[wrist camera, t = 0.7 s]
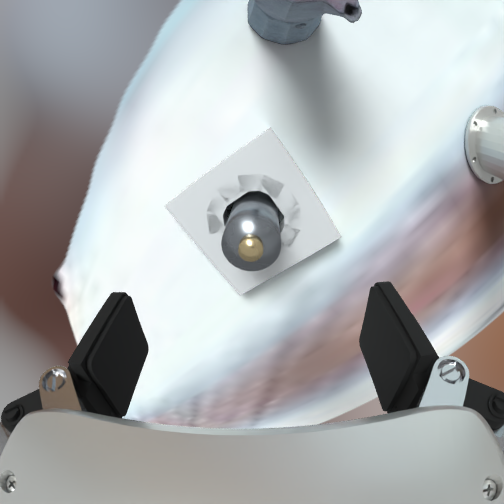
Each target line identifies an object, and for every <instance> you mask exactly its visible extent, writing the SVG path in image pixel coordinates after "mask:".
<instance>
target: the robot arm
mask: <svg viewBox="0 0 504 504" xmlns="http://www.w3.org/2000/svg"><path fill="white" fill-rule="evenodd" d="M465 150H466V156H467V159H468V163H469V165H470V167H471V169H472V171H473V172H474V174H475V175H476V176H477V177H478V178H479V179H481V180H482V181H484V182H486V183H489V184H497V183H499V182H501V181H503V180H504V112H502V111H501V110H500V109H498V108H497V107H494V106H486V105H485V106H481V107H479V108H478V109H476V110H475V111H474V112H473V113H472V115H471V117H470V118H469V121H468V124H467V127H466V132H465ZM359 342H360V347H361V350H362V353H363V355H364V358H365V361H366V363H367V366H368V369H369V372H370V374H371V377H372V380H373V383H374V386H375V389H376V392H377V395H378V397H379V400H380V403H381V406H382V409H383V411H387V413H388V414H383V415H378V416H373V417H367V418H361V419H355V420H349V421H343V422H335V423H328V424H319V425H310V426H298V427H284V428H263V429H220V428H199V427H185V426H174V425H164V424H156V423H148V422H141V421H135V420H129V419H122V416H125V415H126V413H127V411H128V408H129V405H130V402H131V399H132V396H133V393H134V390H135V387H136V384H137V382H138V379H139V376H140V373H141V370H142V368H143V365H144V362H145V360H146V357H147V354H148V343H147V341H146V338H145V335H144V333H143V330H142V327H141V324H140V322H139V319H138V316H137V313H136V310H135V307H134V304H133V301H132V298H131V297H130V296H128V295H127V293H125V292H113V293H111V294H110V296H109V297H108V299H107V300H106V302H105V303H104V305H103V306H102V308H101V309H100V311H99V312H98V314H97V316H96V317H95V319H94V320H93V322H92V323H91V325H90V326H89V328H88V330H87V331H86V333H85V334H84V336H83V338H82V339H81V341H80V343H79V344H78V346H77V348H76V349H75V351H74V353H73V354H72V356H71V358H70V359H69V361H68V363H69V367H68V368H65V367H63V366H55V367H51V368H49V369H48V370H46V371H45V372H44V373H43V374H42V376H41V377H40V380H39V389H38V390H36V391H34V392H32V393H30V394H28V395H26V396H23V397H21V398H19V399H17V400H15V401H13V402H11V403H10V404H8V405H7V406H6V407H5V408H4V410H3V412H2V416H1V419H2V420H1V422H0V504H504V393H503V392H502V391H499V390H497V389H494V388H491V387H489V386H487V385H484V384H482V383H479V382H477V381H474V380H472V379H470V378H469V370H468V368H467V366H466V364H465V363H464V362H463V361H461V360H460V359H458V358H456V357H453V356H443V357H441V358H439V357H438V355H437V353H436V352H435V350H434V348H433V346H432V345H431V343H430V341H429V340H428V338H427V336H426V335H425V333H424V332H423V330H422V328H421V327H420V325H419V324H418V322H417V320H416V319H415V317H414V316H413V314H412V313H411V312H410V310H409V309H408V307H407V306H406V304H405V303H404V301H403V300H402V298H401V297H400V295H399V294H398V292H397V291H396V289H395V288H394V286H393V285H392V283H391V282H377V283H375V285H374V287H371V288H370V292H369V297H368V302H367V307H366V312H365V317H364V321H363V326H362V330H361V334H360V339H359Z"/></svg>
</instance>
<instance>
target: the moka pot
mask: <svg viewBox="0 0 504 504" xmlns="http://www.w3.org/2000/svg"><path fill="white" fill-rule="evenodd" d="M325 13H327V14H332V15H337V16H341V17H344V18H345V19H347V20H348V21H349V22H351V23H354V22H355V21H358V20H359V18H360V16H361V14H362V10H361V7H360V5H359V2H358V0H249V2H248V23H249V24H250V26H251V27H252V28H253V29H254V30H255V31H256V32H257V33H258V34H259V36H261V37H262V38H264V39H267V40H269V41H273V42H276V43H279V44H291V43H296V42H299V41H303V40H306V39H307V38H308V37H309V36H310V35H311V34H312V33H313V32H314V31H315V30H316V28H317V27H318V26H319V24H320V21H321V17H322V15H323V14H325Z"/></svg>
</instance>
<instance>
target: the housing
mask: <svg viewBox="0 0 504 504" xmlns="http://www.w3.org/2000/svg"><path fill="white" fill-rule="evenodd" d="M248 191H261V192H264V193H266V194H268V195H270V197H271V198H272V200H273V201H274V202H275V204H276V205H277V207H278V208H279V209H280V211H281V212H282V214H283V219H282V221H281V223H280V225H279V227H280V236H281V251H280V254H279V256H278V258H277V259H276V261H275V262H274V263H273V264H272V265H270V266H269V267H267V268H265V269H263V270H259V271H245V270H241V269H239V268H237V267H235V266H233V265H232V264H231V263H230V262H229V261H228V260H227V259H226V258H225V256H224V254H223V251H222V247H221V240H222V236H223V233H224V230H225V227H226V224H227V221H228V217H227V212H226V207H227V206H228V205H229V204H231V203H232V202H233V201H235V200H236V199H238V198H239V197H241V196H242V195H244V194H245V193H247V192H248ZM165 207H166V209H167V210H168V211H169V212H170V213H171V215H172V216H173V217H174V218H175V220H176V221H177V222H178V223H179V224H180V226H181V227H182V228H183V229H184V230H185V232H186V233H187V234H188V235H189V237H190V238H191V239H192V240H193V241H194V242H195V244H196V245H197V246H198V247H199V248H200V250H201V251H202V252H203V253H204V254H205V256H206V257H207V258H208V259H209V260H210V261H211V263H212V264H213V265H214V266H215V267H216V268H217V270H218V271H219V272H220V273H221V274H222V275H223V277H224V278H225V279H226V280H227V281H228V282H229V283H230V285H231V286H232V287H233V288H234V289H235V290H236V291H237V293H238V294H239V295H242V294H244V293H245V292H247V291H249V290H251V289H253V288H254V287H256V286H258V285H260V284H262V283H263V282H265V281H267V280H269V279H270V278H272V277H274V276H276V275H277V274H279V273H281V272H283V271H284V270H286V269H288V268H290V267H291V266H293V265H295V264H297V263H298V262H300V261H302V260H303V259H305V258H307V257H309V256H310V255H312V254H314V253H315V252H317V251H319V250H320V249H322V248H324V247H326V246H327V245H329V244H331V243H332V242H334V241H336V240H337V239H339V238H341V235H340V233H339V232H338V230H337V228H336V226H335V225H334V223H333V221H332V220H331V218H330V216H329V215H328V213H327V211H326V210H325V208H324V207H323V205H322V203H321V202H320V200H319V199H318V197H317V195H316V194H315V192H314V191H313V189H312V188H311V186H310V184H309V183H308V181H307V180H306V178H305V177H304V175H303V174H302V172H301V171H300V169H299V168H298V166H297V165H296V163H295V162H294V160H293V159H292V157H291V156H290V154H289V153H288V151H287V150H286V149H285V147H284V146H283V144H282V143H281V141H280V140H279V139H278V137H277V136H276V134H275V133H274V131H273V130H272V129H271V127H270V128H269V129H267V130H266V131H264V132H263V133H261V134H260V135H258V136H257V137H255V138H254V139H252V140H251V141H249V142H248V143H246V144H245V145H244V146H242V147H241V148H239V149H238V150H236V151H235V152H234V153H232V154H231V155H229V156H228V157H226V158H225V159H224V160H222V161H221V162H220V163H218V164H217V165H215V166H214V167H213V168H211V169H210V170H209V171H207V172H206V173H205V174H203V175H202V176H201V177H199V178H198V179H197V180H195V181H194V182H193V183H191V184H190V185H189V186H188V187H186V188H185V189H184V190H182V191H181V192H180V193H179V194H177V195H176V196H175V197H174V198H172V199H171V200H170V201H169V202H168V203H167V204H166V205H165Z"/></svg>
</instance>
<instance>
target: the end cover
mask: <svg viewBox="0 0 504 504" xmlns="http://www.w3.org/2000/svg"><path fill="white" fill-rule="evenodd" d="M221 247H222V251H223V254H224V256H225V258H226V259H227V260H228V261H229V262H230V263H231V264H232V265H233V266H235V267H237V268H239V269H241V270H245V271H259V270H263V269H265V268H267V267H269V266H270V265H272V264H273V263H274V262H275V261H276V259H277V258H278V256H279V254H280V251H281V236H280V227H279V219H278V210H277V206H276V204H275V202H274V201H273V200H272V198H271V197H270V196H269V195H268V194H266V193H264V192H261V191H248V192H247V193H245V194H244V195H242V196H241V197H239V198H238V199H236V200H235V202H234V204H233V207H232V209H231V212H230V215H229V218H228V221H227V224H226V227H225V230H224V233H223V236H222V240H221Z"/></svg>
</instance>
